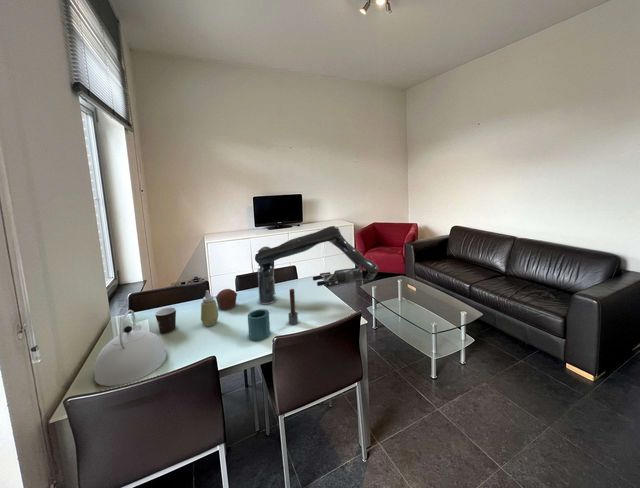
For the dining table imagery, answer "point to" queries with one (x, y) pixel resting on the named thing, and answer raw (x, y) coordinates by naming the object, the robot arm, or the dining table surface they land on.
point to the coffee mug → (166, 319)
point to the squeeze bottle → (209, 310)
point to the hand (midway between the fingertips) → (315, 281)
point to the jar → (258, 325)
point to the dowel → (292, 309)
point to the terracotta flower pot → (226, 299)
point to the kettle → (129, 356)
